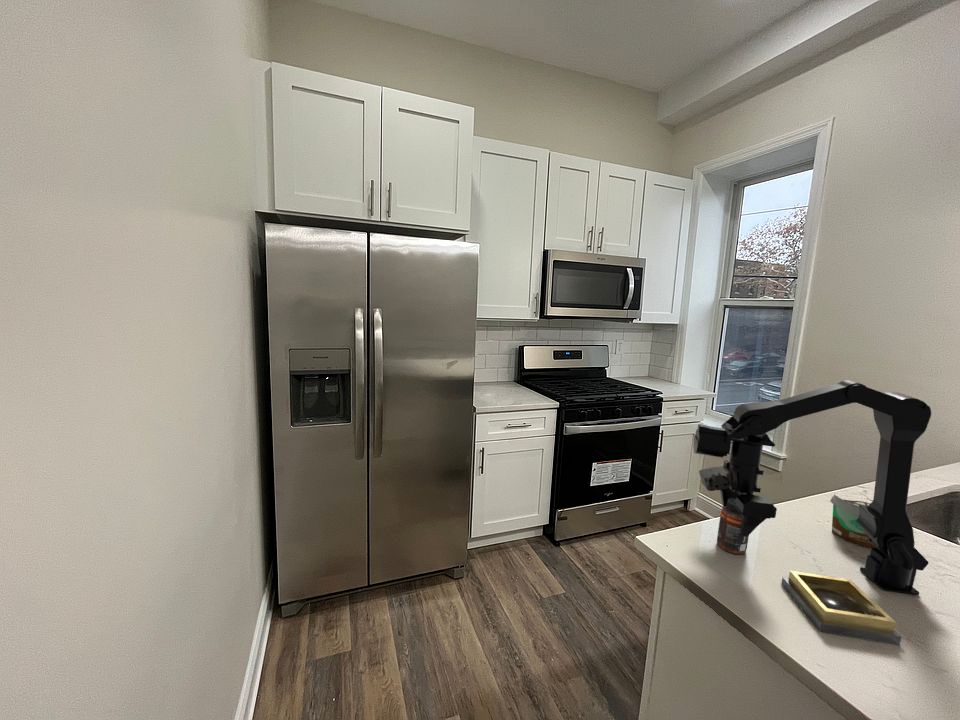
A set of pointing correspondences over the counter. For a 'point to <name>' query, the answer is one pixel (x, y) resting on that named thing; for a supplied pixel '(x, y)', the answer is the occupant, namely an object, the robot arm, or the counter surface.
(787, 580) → the gold-rimmed square tray
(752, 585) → the counter surface
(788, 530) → the counter surface
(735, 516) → the supplement bottle
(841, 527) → the food container
